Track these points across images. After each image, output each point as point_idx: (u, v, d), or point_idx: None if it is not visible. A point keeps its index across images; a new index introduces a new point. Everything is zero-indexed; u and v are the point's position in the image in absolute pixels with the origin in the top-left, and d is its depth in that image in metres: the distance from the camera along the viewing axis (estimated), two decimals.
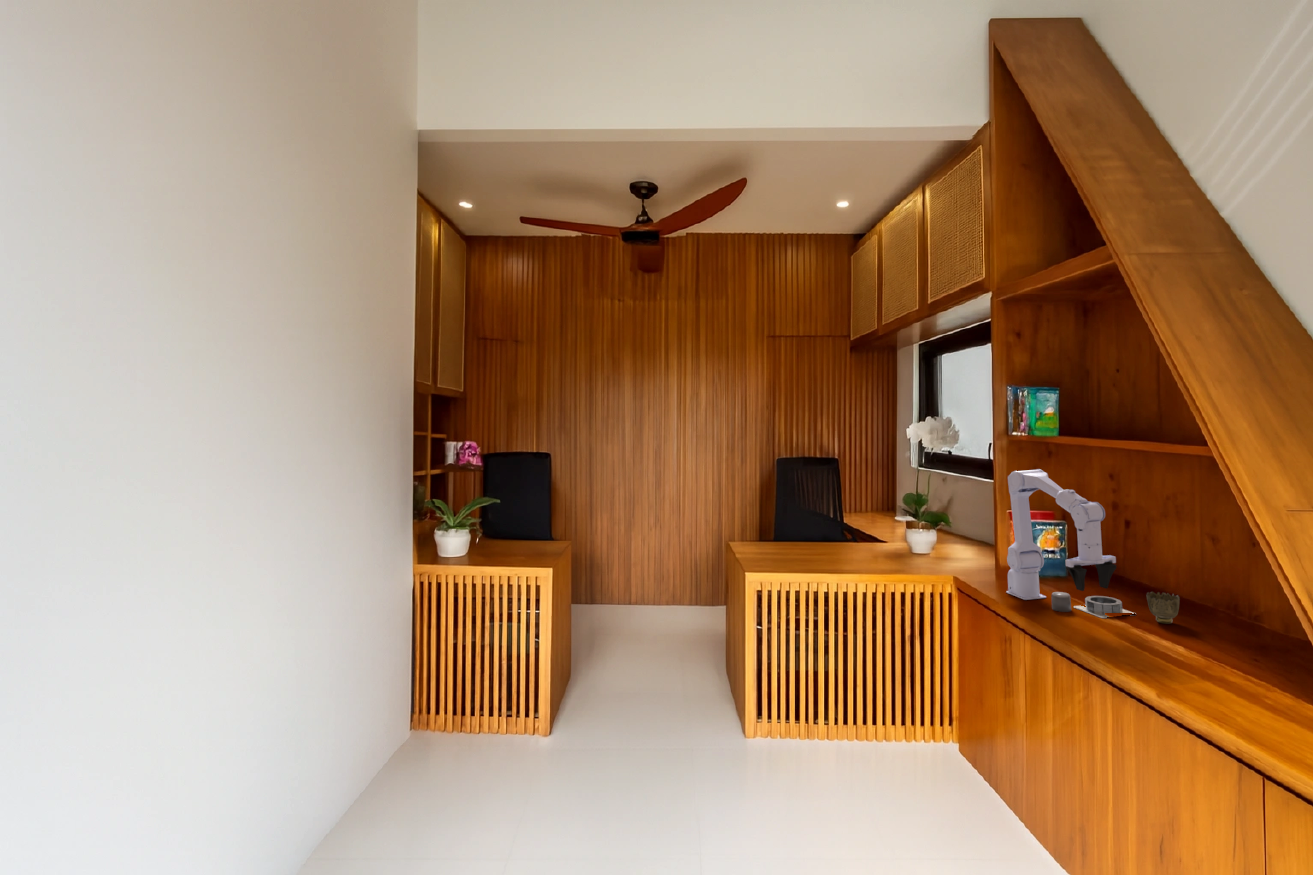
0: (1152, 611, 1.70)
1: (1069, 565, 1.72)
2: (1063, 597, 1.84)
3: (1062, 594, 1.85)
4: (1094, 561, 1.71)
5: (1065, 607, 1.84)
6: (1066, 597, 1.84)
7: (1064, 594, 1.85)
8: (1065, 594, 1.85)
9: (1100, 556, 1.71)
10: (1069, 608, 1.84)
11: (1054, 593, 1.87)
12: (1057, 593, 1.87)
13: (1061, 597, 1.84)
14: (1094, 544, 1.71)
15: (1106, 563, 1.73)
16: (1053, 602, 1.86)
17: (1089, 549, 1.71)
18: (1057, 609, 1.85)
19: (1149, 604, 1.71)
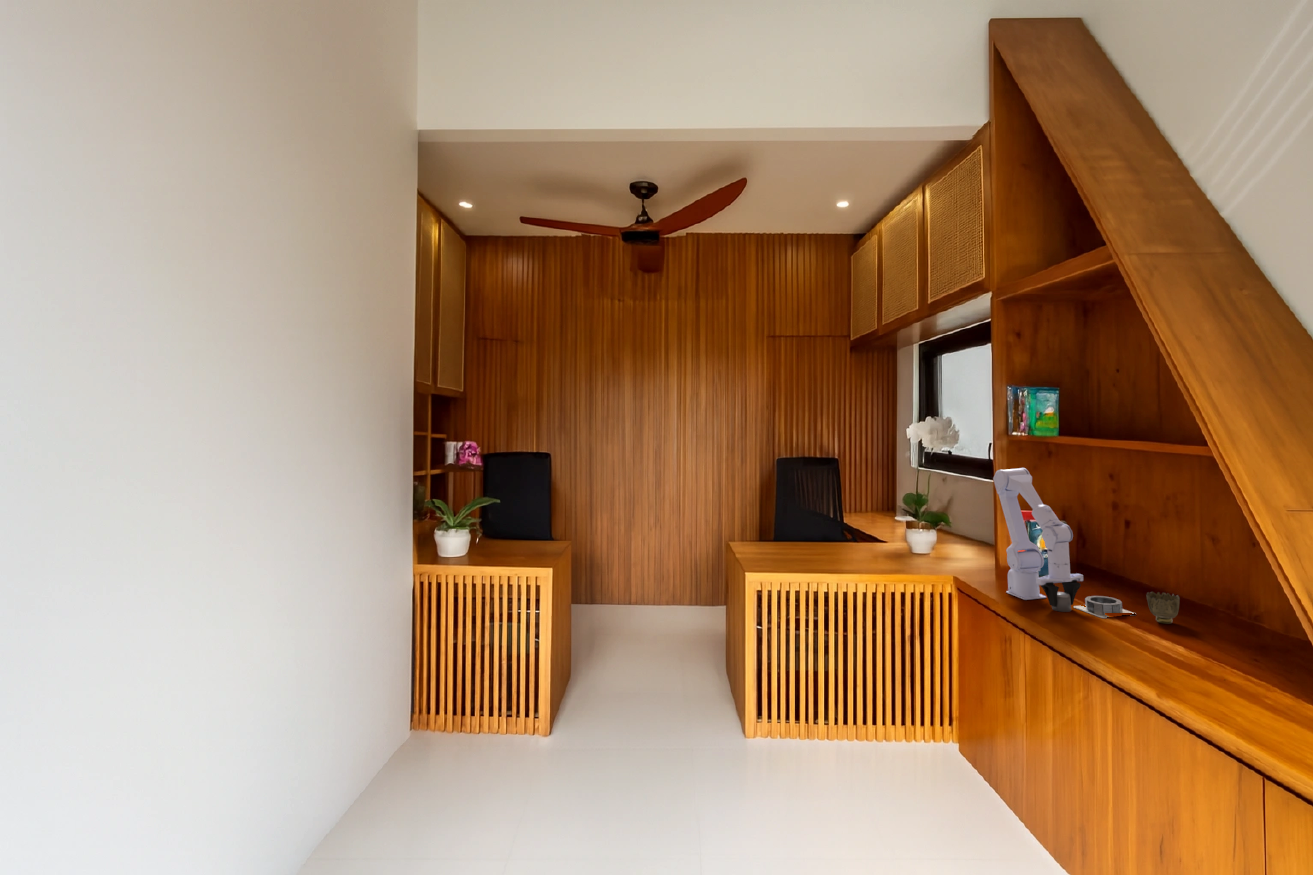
0: (1152, 611, 1.70)
1: (1039, 583, 1.85)
2: (1063, 597, 1.84)
3: (1062, 594, 1.85)
4: (1062, 579, 1.83)
5: (1065, 607, 1.84)
6: (1066, 597, 1.84)
7: (1064, 594, 1.85)
8: (1065, 594, 1.85)
9: (1068, 575, 1.83)
10: (1069, 608, 1.84)
11: None
12: (1057, 593, 1.87)
13: (1061, 597, 1.84)
14: (1062, 563, 1.83)
15: (1074, 581, 1.85)
16: None
17: (1058, 568, 1.84)
18: (1057, 609, 1.85)
19: (1149, 604, 1.71)
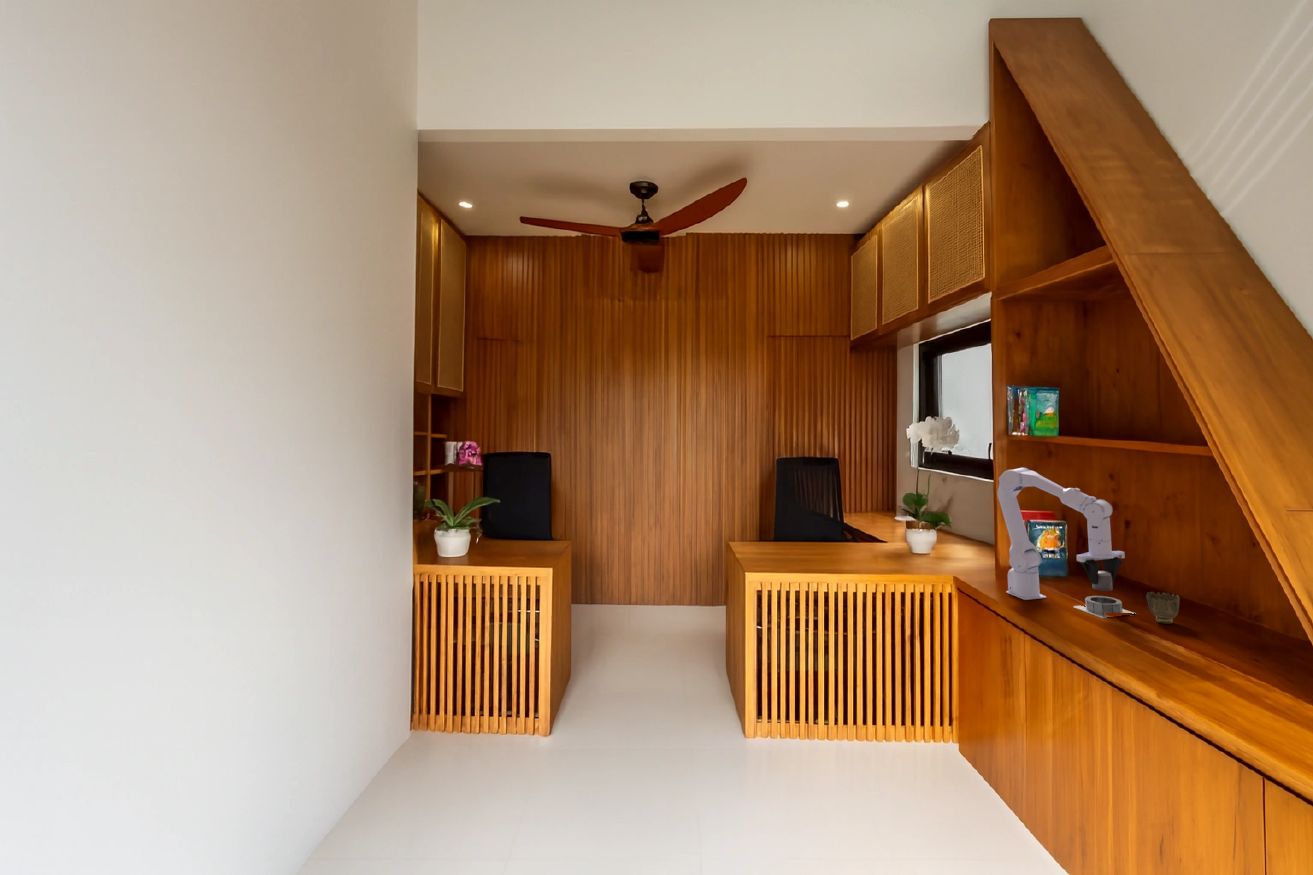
0: (1152, 611, 1.70)
1: (1080, 560, 1.81)
2: (1105, 575, 1.80)
3: (1103, 573, 1.81)
4: (1104, 556, 1.79)
5: (1107, 585, 1.79)
6: (1108, 575, 1.80)
7: (1105, 573, 1.81)
8: (1106, 573, 1.81)
9: (1110, 551, 1.79)
10: (1111, 587, 1.80)
11: None
12: (1098, 572, 1.83)
13: (1103, 575, 1.80)
14: (1108, 540, 1.79)
15: (1115, 558, 1.81)
16: None
17: (1099, 545, 1.79)
18: (1099, 588, 1.81)
19: (1149, 604, 1.71)
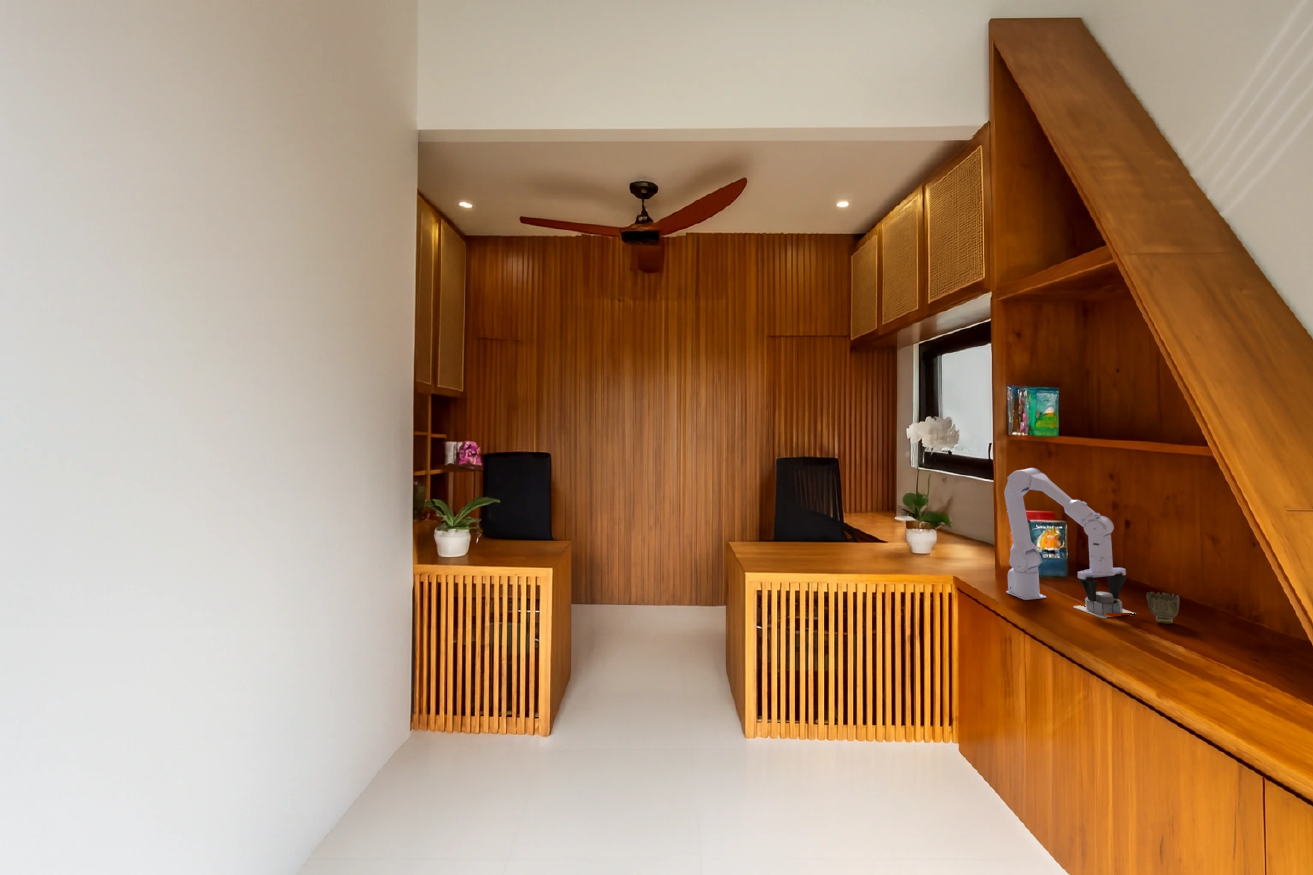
0: (1152, 611, 1.70)
1: (1081, 577, 1.81)
2: (1107, 597, 1.80)
3: (1105, 594, 1.81)
4: (1105, 573, 1.79)
5: None
6: (1110, 597, 1.80)
7: (1107, 594, 1.81)
8: (1108, 594, 1.81)
9: (1111, 568, 1.79)
10: None
11: (1096, 593, 1.83)
12: (1099, 593, 1.83)
13: (1105, 597, 1.80)
14: (1109, 557, 1.79)
15: (1116, 575, 1.81)
16: None
17: (1100, 562, 1.80)
18: None
19: (1149, 604, 1.71)
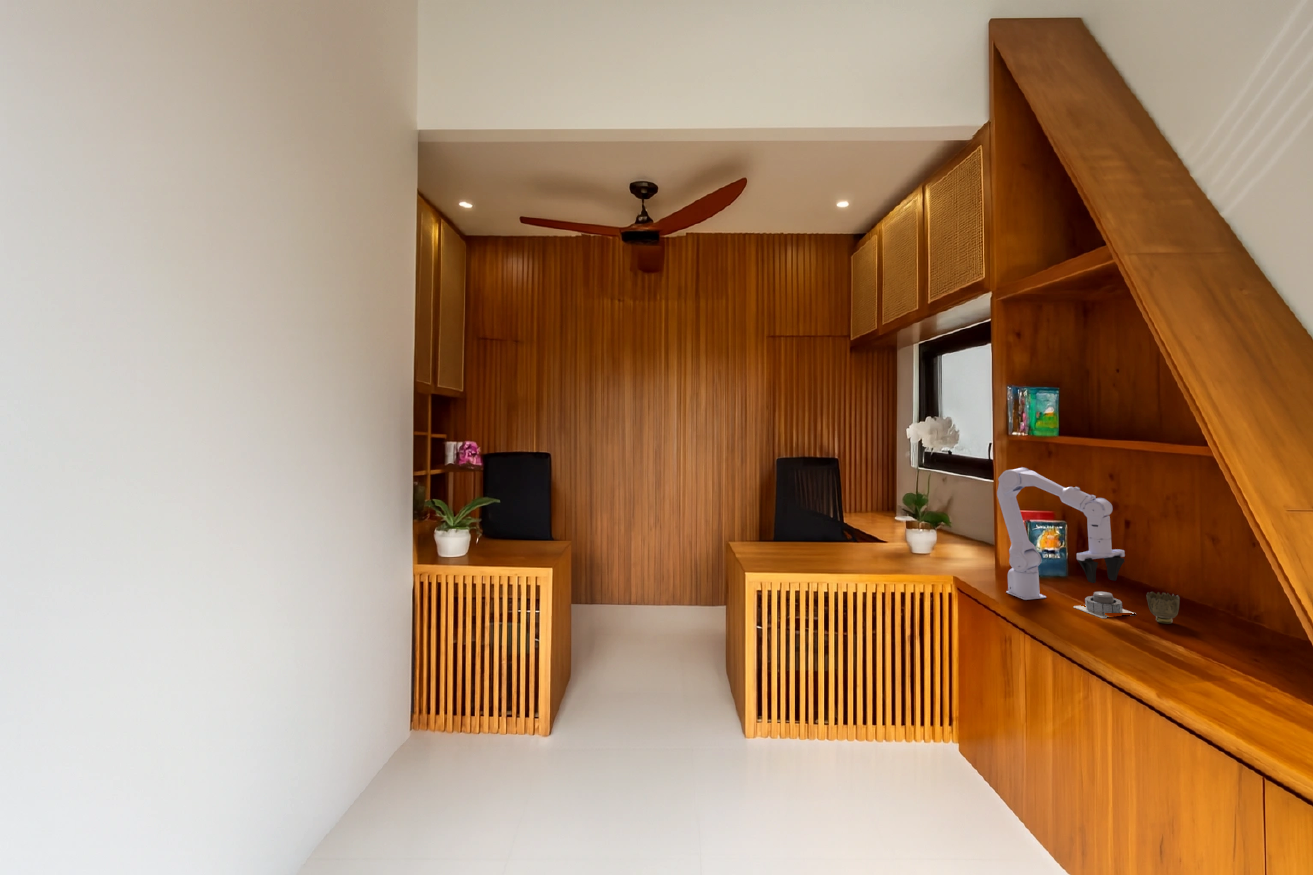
0: (1152, 611, 1.70)
1: (1080, 558, 1.81)
2: (1107, 597, 1.80)
3: (1105, 594, 1.81)
4: (1104, 555, 1.79)
5: None
6: (1110, 597, 1.80)
7: (1107, 594, 1.81)
8: (1108, 594, 1.81)
9: (1110, 550, 1.79)
10: None
11: (1096, 593, 1.83)
12: (1099, 593, 1.83)
13: (1105, 597, 1.80)
14: (1108, 538, 1.79)
15: (1115, 557, 1.81)
16: None
17: (1099, 543, 1.79)
18: None
19: (1149, 604, 1.71)
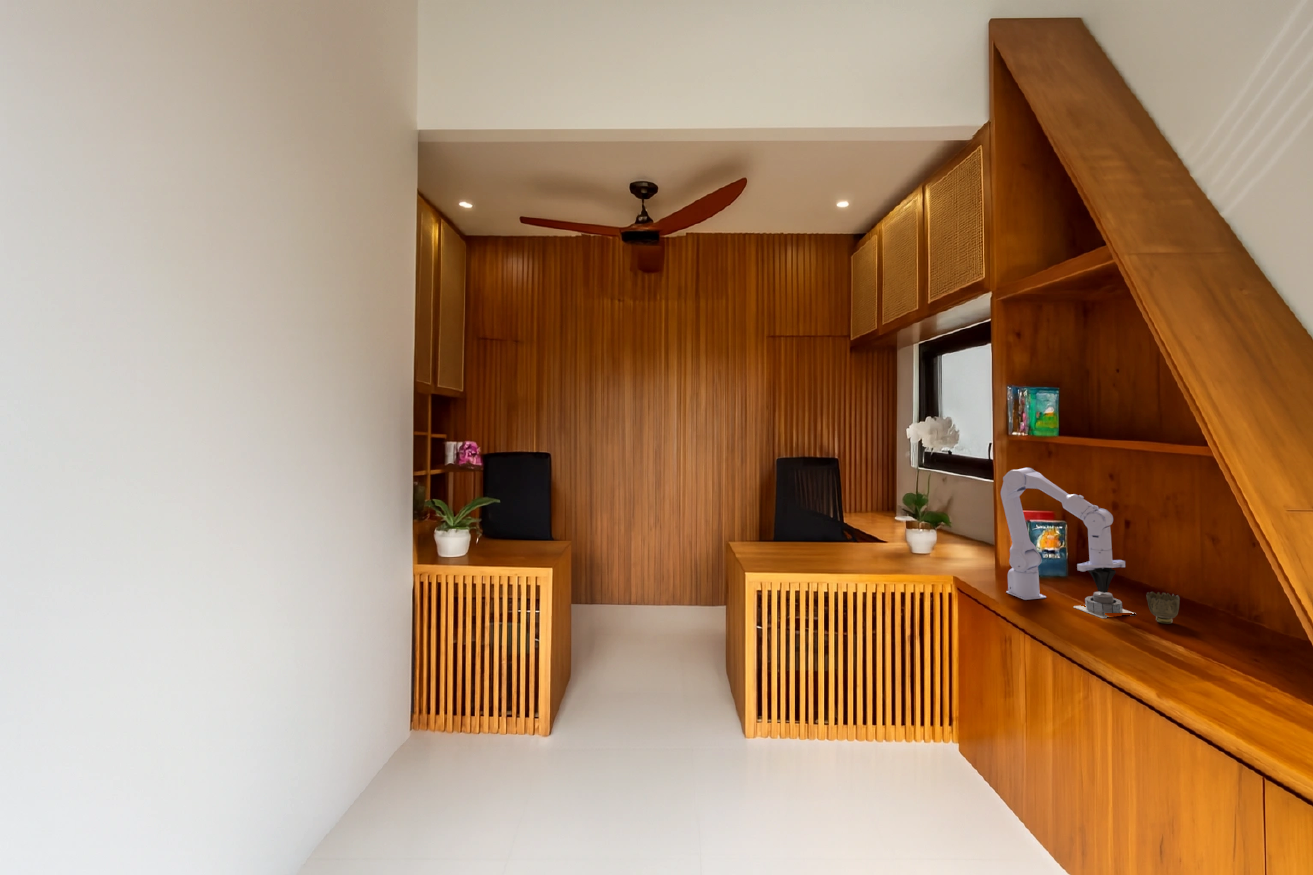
0: (1152, 611, 1.70)
1: (1081, 569, 1.81)
2: (1107, 597, 1.80)
3: (1104, 594, 1.81)
4: (1105, 565, 1.79)
5: None
6: (1109, 597, 1.80)
7: (1107, 594, 1.81)
8: (1107, 594, 1.81)
9: (1110, 561, 1.79)
10: None
11: (1096, 593, 1.83)
12: (1099, 593, 1.83)
13: (1104, 597, 1.80)
14: (1109, 549, 1.79)
15: None
16: None
17: (1100, 554, 1.79)
18: None
19: (1149, 604, 1.71)
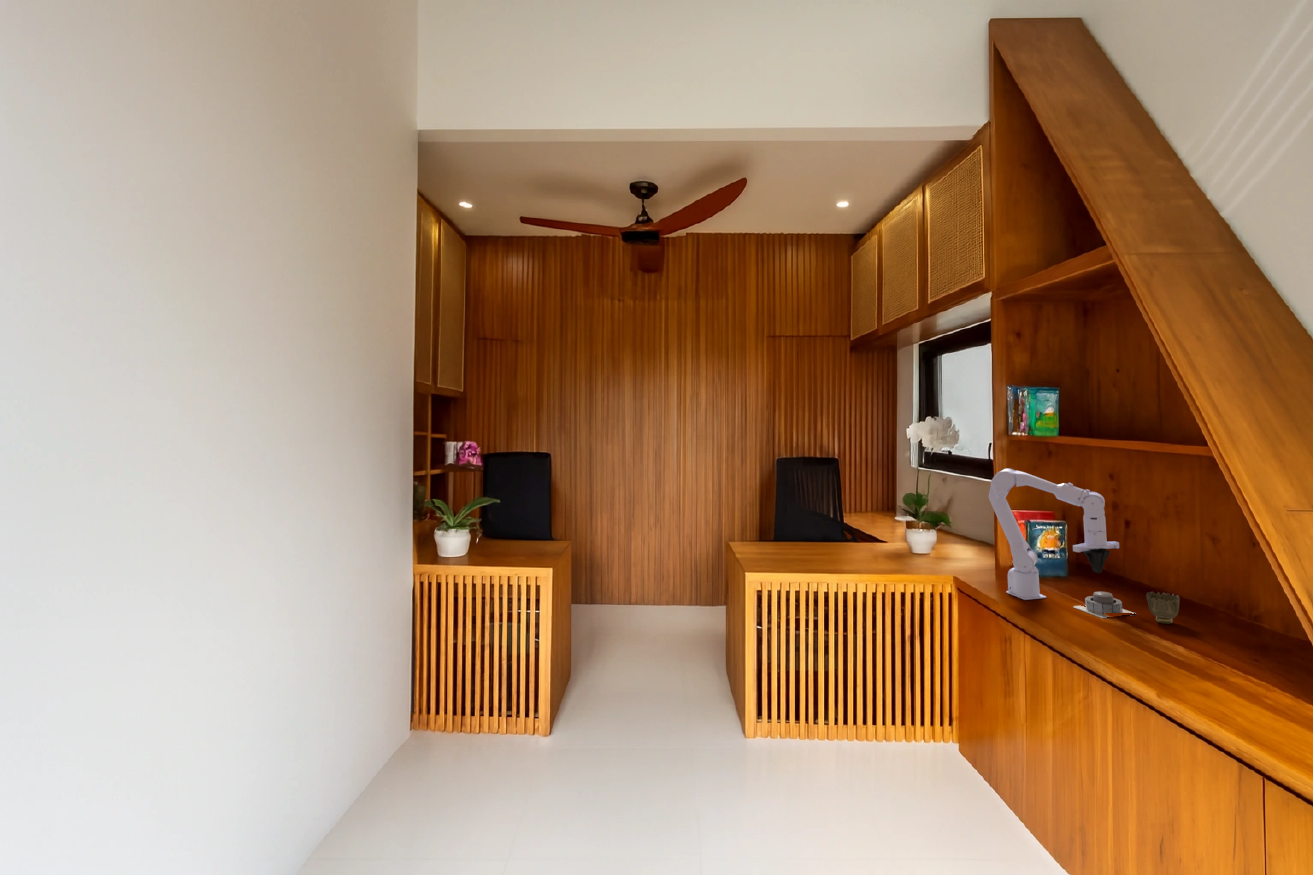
0: (1152, 611, 1.70)
1: (1076, 550, 1.87)
2: (1107, 597, 1.80)
3: (1105, 594, 1.81)
4: (1099, 546, 1.85)
5: None
6: (1110, 597, 1.80)
7: (1107, 594, 1.81)
8: (1107, 594, 1.81)
9: (1105, 542, 1.85)
10: None
11: (1096, 593, 1.83)
12: (1099, 593, 1.83)
13: (1105, 597, 1.80)
14: (1105, 530, 1.86)
15: (1110, 548, 1.88)
16: None
17: (1095, 535, 1.86)
18: None
19: (1149, 604, 1.71)
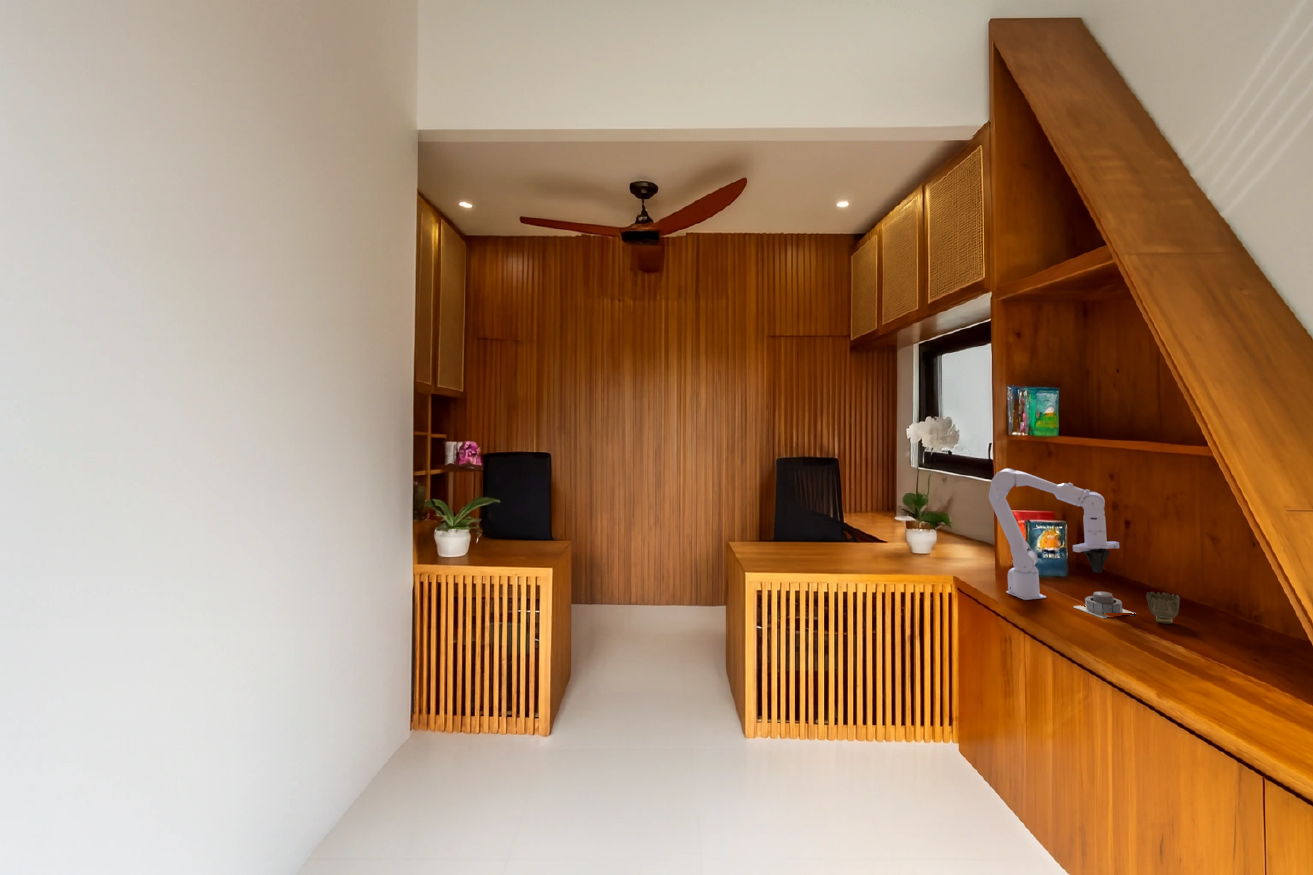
0: (1152, 611, 1.70)
1: (1076, 550, 1.87)
2: (1107, 597, 1.80)
3: (1104, 594, 1.81)
4: (1099, 546, 1.85)
5: None
6: (1110, 597, 1.80)
7: (1107, 594, 1.81)
8: (1107, 594, 1.81)
9: (1105, 542, 1.85)
10: None
11: (1096, 593, 1.83)
12: (1099, 593, 1.83)
13: (1105, 597, 1.80)
14: (1105, 530, 1.86)
15: (1110, 548, 1.88)
16: None
17: (1095, 535, 1.86)
18: None
19: (1149, 604, 1.71)
